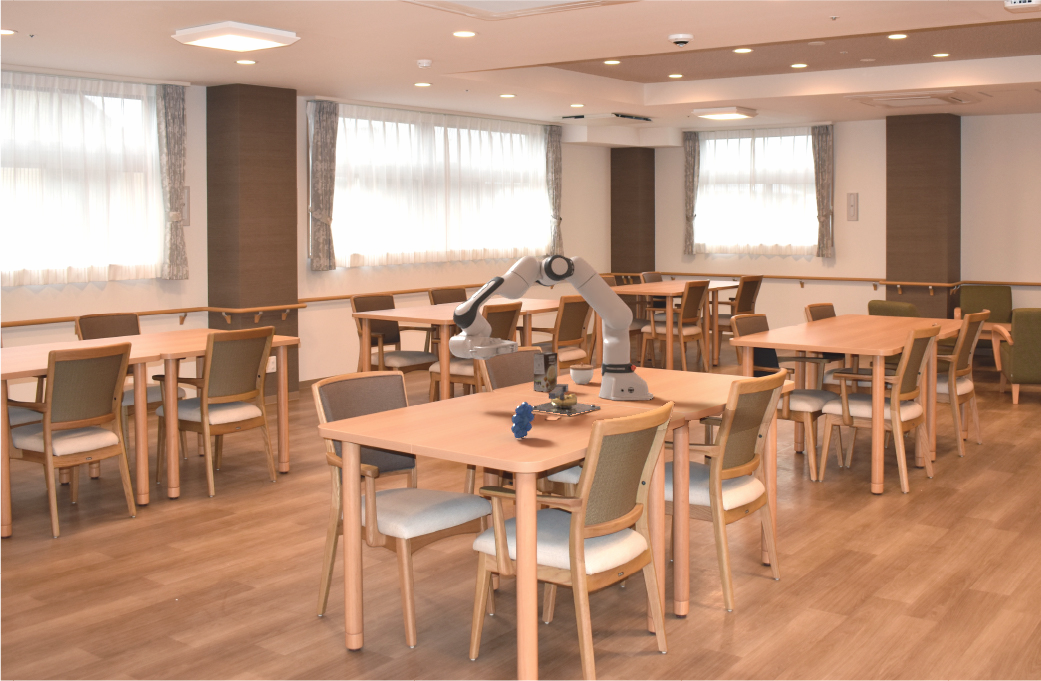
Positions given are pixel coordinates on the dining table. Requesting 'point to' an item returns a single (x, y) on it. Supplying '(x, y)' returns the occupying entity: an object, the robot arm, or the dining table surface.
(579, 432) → the dining table surface
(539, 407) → the dark square board
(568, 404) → the lever valve
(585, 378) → the lidded jar
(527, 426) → the grapes
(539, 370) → the coffee box
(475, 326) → the robot arm
